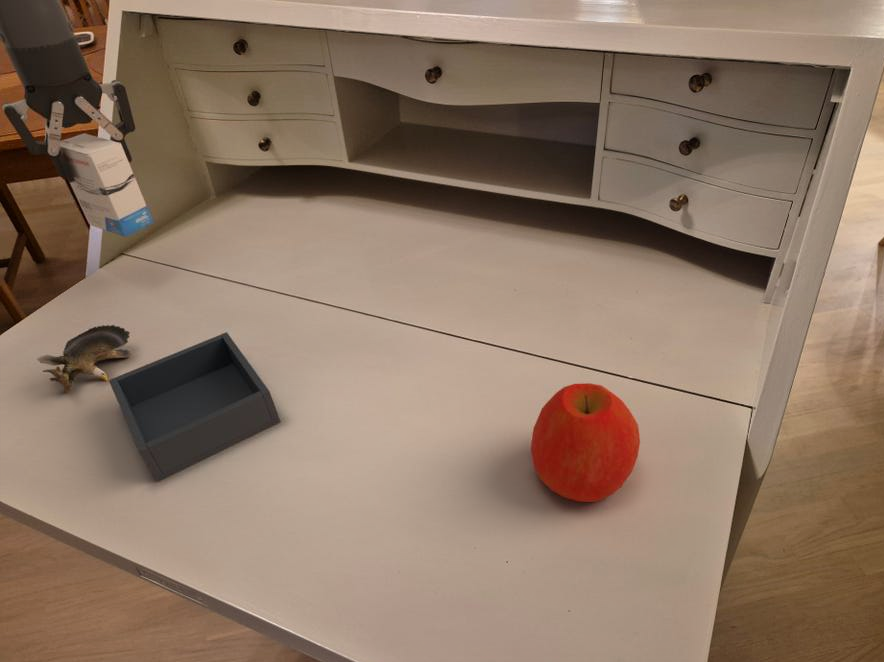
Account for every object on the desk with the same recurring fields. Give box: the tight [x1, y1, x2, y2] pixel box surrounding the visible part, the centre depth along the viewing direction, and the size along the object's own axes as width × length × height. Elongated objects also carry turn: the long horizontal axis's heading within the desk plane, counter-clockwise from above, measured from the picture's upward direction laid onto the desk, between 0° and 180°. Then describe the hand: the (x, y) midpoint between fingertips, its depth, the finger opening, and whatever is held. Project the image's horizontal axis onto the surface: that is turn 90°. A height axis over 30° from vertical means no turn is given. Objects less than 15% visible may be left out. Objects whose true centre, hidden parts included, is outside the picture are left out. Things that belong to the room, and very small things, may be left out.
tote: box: [108, 331, 282, 483], centre depth 71 cm, size 14×14×5 cm
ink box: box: [59, 133, 154, 238], centre depth 86 cm, size 8×5×12 cm, turn 59°
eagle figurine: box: [36, 324, 131, 394], centre depth 78 cm, size 8×7×9 cm
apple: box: [530, 382, 641, 503], centre depth 60 cm, size 10×10×10 cm
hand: (98, 172), depth 85 cm, fingers closed on ink box, 6 cm apart
